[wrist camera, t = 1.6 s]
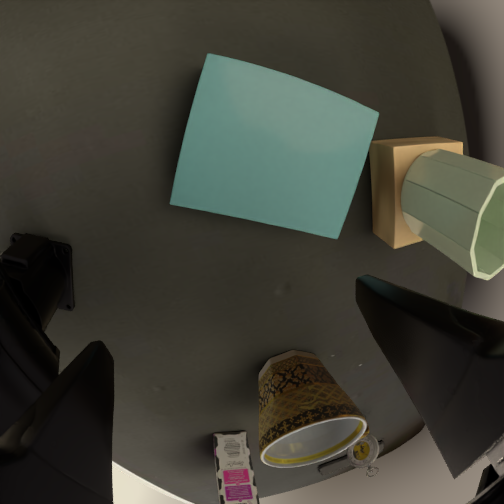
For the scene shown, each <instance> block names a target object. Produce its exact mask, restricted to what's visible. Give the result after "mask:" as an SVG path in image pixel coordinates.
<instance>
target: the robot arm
mask: <svg viewBox="0 0 504 504" xmlns="http://www.w3.org/2000/svg"><path fill="white" fill-rule="evenodd" d="M15 238H16V240H15ZM10 242H11V246H10V247H9V248H8V249H7V250H6V251H4V252H3V253H2V255H1V256H0V257H1V259H0V504H113V488H112V431H113V411H114V360H113V357H112V355H111V354H110V352H109V351H108V349H107V348H106V346H105V344H104V343H103V342H102V341H100V340H99V341H93V342H91V343H89V345H88V346H87V347H86V348H85V349H84V350H83V351H82V352H81V353H80V354H79V355H78V356H77V357H76V358H75V359H74V360H73V361H72V362H71V363H70V364H69V365H68V366H67V367H66V368H65V369H64V370H63V371H62V372H61V373H60V375H59V374H58V373H59V358H60V350H59V349H58V348H57V347H56V346H54V345H53V343H52V342H51V341H50V339H49V338H48V337H47V335H46V334H45V333H44V331H45V329H46V327H47V325H48V324H49V322H50V320H51V318H52V317H53V315H54V313H55V311H56V310H57V308H59V309H63V310H67V311H72V310H73V309H74V307H75V302H74V289H73V269H72V248H71V246H70V245H69V244H66V243H62V242H57V241H52V240H49V239H48V238H46V237H41V236H36V235H31V234H27V233H26V234H19V233H14V234H13V235H11V237H10ZM64 248H65V249H67V251H68V252H66V251H65V250H64ZM356 302H357V305H358V307H359V309H360V311H361V313H362V315H363V317H364V319H365V321H366V323H367V325H368V327H369V329H370V331H371V333H372V335H373V337H374V339H375V340H376V342H377V344H378V345H379V347H380V348H381V350H382V352H383V353H384V355H385V356H386V358H387V360H388V361H389V363H390V365H391V366H392V368H393V369H394V371H395V373H396V374H397V376H398V378H399V379H400V381H401V383H402V384H403V386H404V388H405V389H406V391H407V393H408V395H409V396H410V398H411V400H412V401H413V403H414V405H415V407H416V408H417V410H418V412H419V414H420V415H421V417H422V419H423V421H424V423H425V424H426V426H427V428H428V430H429V431H430V434H431V436H432V438H433V439H434V441H435V443H436V445H437V447H438V449H439V450H440V452H441V454H442V456H443V458H444V460H445V462H446V464H447V466H448V468H449V470H450V472H451V474H452V476H453V478H454V479H455V478H457V477H458V476H460V475H461V474H462V473H464V472H465V471H467V470H468V469H469V468H471V467H472V466H473V465H475V464H476V463H477V462H478V461H480V460H481V459H482V458H484V457H485V456H487V457H488V459H489V461H490V462H491V464H490V465H489V466H487V467H486V468H485V469H484V470H483V473H482V476H481V480H480V483H479V487H478V490H477V493H476V496H475V498H473V499H472V500H471V501H469V502H468V503H466V504H504V322H503V321H500V320H496V319H493V318H489V317H486V316H482V315H479V314H476V313H472V312H469V311H467V310H464V309H461V308H458V307H456V306H453V305H449V304H447V303H445V302H442V301H439V300H437V299H434V298H431V297H428V296H426V295H423V294H420V293H418V292H415V291H412V290H409V289H407V288H404V287H401V286H398V285H395V284H393V283H390V282H387V281H384V280H381V279H379V278H376V277H373V276H370V275H364V276H360V277H358V278H357V279H356ZM68 304H69V305H70V306H69V305H68Z"/></svg>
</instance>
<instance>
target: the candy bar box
mask: <svg viewBox="0 0 504 504" xmlns="http://www.w3.org/2000/svg"><path fill="white" fill-rule="evenodd" d="M213 441H214V455H215V466H216V476H217V485H218V494H219V502H220V504H259V498H258V493H257V488H256V483H255V478H254V472H253V467H252V462H251V456H250V450H249V445H248V439H247V432H246V431H241V432H226V433H214V434H213Z"/></svg>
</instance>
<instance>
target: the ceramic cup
mask: <svg viewBox="0 0 504 504" xmlns="http://www.w3.org/2000/svg"><path fill="white" fill-rule="evenodd" d="M368 434H369V427H368V424H367V421H366V419H365V418H364V416H363V415H362V413H361V412H360V410H359V409H358V408H357V406H356V405H355V404H354V402H353V401H352V400H351V399H350V397H349V396H348V395H347V394H346V393H345V392H344V391H343V390H342V389H341V388H340V386H339V385H338V384H337V383H336V381H335V380H334V378H333V377H332V376H331V375H330V373H329V372H328V371H327V370H326V368H325V367H324V366H323V364H322V363H321V362H320V360H319V359H318V358H317V357H316V355H315V354H313V353H308V352H303V351H297V350H291V351H288V352H286V353H283V354H280V355H278V356H275V357H272V358H270V359H269V360H268V361H267V363H266V364H265V365H264V367H263V368H262V370H261V371H260V372H259V450H260V458H261V460H262V461H263V463H265V464H267V465H269V466H273V467H283V468H286V467H298V466H304V465H308V464H312V463H316V462H319V461H322V460H324V459H327V458H329V457H332V456H334V455H336V454H338V453H340V452H342V451H343V450H345V449H347V448H348V447H350V446H351V445H352V444H354V443H355V442H356V441H357V440H358V439H362V438H364V437H366V436H367V435H368Z"/></svg>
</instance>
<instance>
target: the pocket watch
mask: <svg viewBox="0 0 504 504" xmlns="http://www.w3.org/2000/svg"><path fill="white" fill-rule="evenodd" d="M364 441H365V442H364ZM361 442H364V444H363V445H359V444H360V443H361ZM366 444H367V445H366ZM358 445H359V446H358ZM363 446H365V447H364V448H363ZM362 448H363V449H362ZM360 449H361V450H360ZM356 451H358V453H357V454H356ZM378 453H379V444H378V441H377V439H376V438H375V437H374V436H373V435H371V434H368V435H367V436H366V437H364V438H362V439H358V440H357V441H356V442H355V443H354V444H352V445H351V446H350V447H348V448H347V458H348V461H349V462H350V464H351V465H353V466H354V467H357V468H363V467H368V470H367V474H366V475H367V476H368V472H371V473H372V470H373V469H377V473H378V471H379V469H378V468H377V467H371V466H370V464H371V463H373V462H374V461H375V459H376V458H377V456H378ZM358 454H359V455H358ZM357 455H358V456H360V457H359V458H360V459H359V458H358V456H357ZM377 473H376V474H377ZM376 474H375V475H376ZM375 475H373V476H375ZM373 476H368V477H373Z"/></svg>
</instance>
